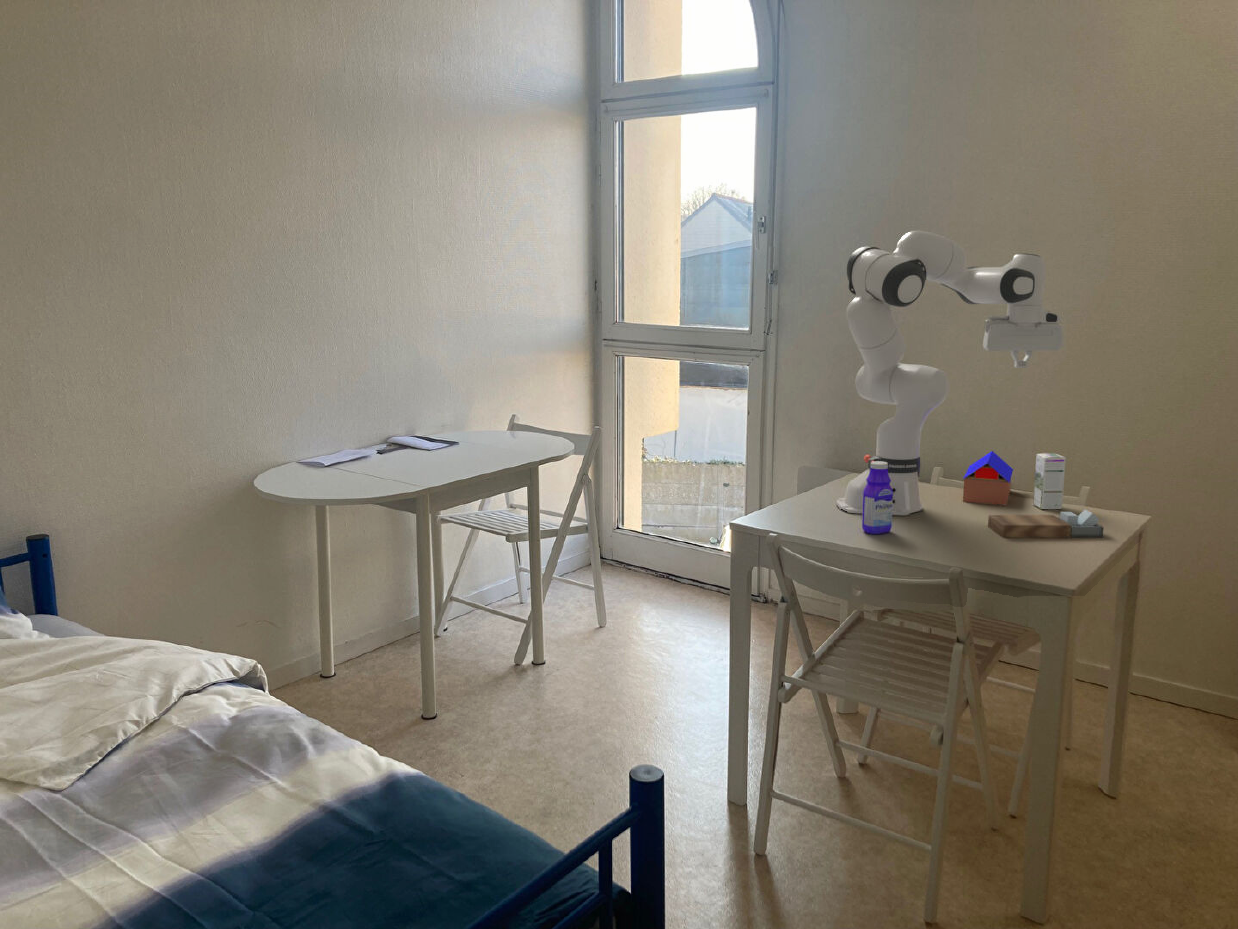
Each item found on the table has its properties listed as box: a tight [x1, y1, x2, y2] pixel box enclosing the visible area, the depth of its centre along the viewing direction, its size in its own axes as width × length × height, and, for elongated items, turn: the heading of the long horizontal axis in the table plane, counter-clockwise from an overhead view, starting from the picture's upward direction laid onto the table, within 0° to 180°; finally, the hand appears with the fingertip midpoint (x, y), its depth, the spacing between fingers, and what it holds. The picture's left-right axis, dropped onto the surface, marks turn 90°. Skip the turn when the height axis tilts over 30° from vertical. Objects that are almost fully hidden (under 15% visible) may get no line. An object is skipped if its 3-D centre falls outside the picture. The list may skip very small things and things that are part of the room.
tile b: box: [1059, 511, 1079, 526], centre depth 232 cm, size 4×4×2 cm
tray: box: [1057, 516, 1105, 538], centre depth 232 cm, size 8×10×2 cm
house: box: [962, 450, 1014, 506], centre depth 269 cm, size 12×20×12 cm, turn 155°
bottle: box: [861, 461, 893, 535], centre depth 232 cm, size 7×6×17 cm
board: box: [987, 514, 1071, 538], centre depth 232 cm, size 16×10×3 cm, turn 89°
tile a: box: [1078, 509, 1100, 526], centre depth 231 cm, size 4×4×2 cm
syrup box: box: [1032, 452, 1066, 510], centre depth 255 cm, size 6×6×14 cm
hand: (1020, 367), depth 257 cm, fingers closed
